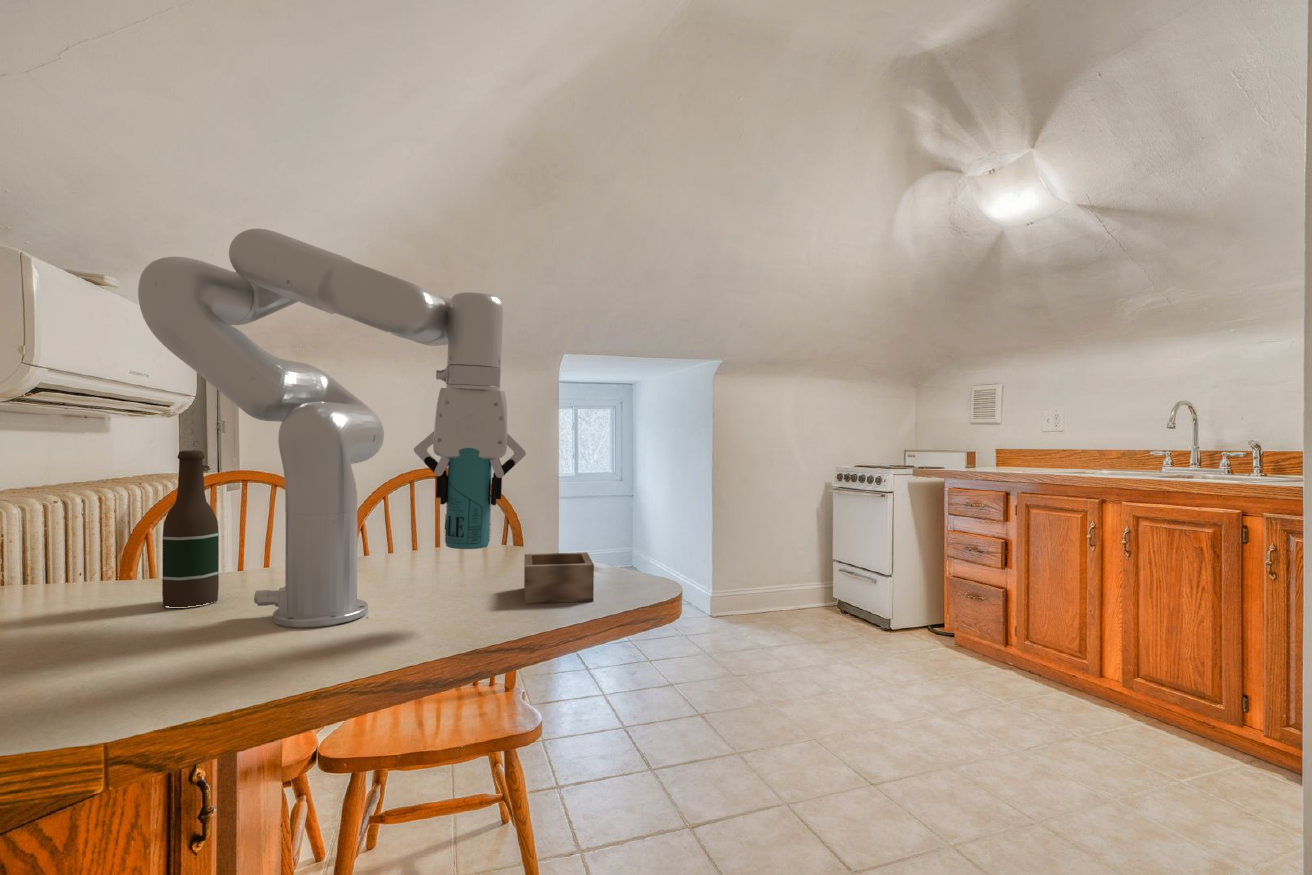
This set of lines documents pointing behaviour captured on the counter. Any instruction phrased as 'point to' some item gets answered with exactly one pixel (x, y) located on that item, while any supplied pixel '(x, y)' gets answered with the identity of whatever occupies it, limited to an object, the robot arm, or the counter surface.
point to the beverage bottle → (468, 501)
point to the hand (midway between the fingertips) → (468, 502)
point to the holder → (558, 577)
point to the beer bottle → (190, 540)
